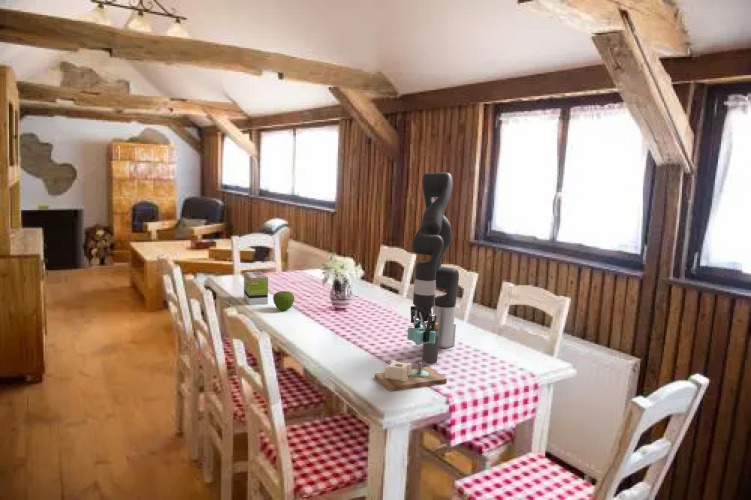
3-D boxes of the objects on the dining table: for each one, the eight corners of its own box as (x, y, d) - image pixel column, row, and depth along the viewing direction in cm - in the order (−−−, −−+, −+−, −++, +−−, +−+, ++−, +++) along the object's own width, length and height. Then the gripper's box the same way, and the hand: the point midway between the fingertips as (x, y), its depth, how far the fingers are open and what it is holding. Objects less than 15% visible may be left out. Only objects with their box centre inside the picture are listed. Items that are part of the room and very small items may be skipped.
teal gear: (424, 336, 189) (425, 326, 188) (436, 343, 182) (437, 332, 181) (405, 338, 185) (406, 327, 185) (416, 345, 179) (417, 334, 178)
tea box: (243, 298, 283) (243, 271, 281) (261, 297, 288) (262, 271, 285) (248, 305, 270) (249, 277, 268) (268, 304, 274) (268, 276, 272)
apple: (292, 313, 259) (292, 293, 258) (270, 312, 259) (271, 292, 258) (295, 307, 270) (296, 288, 268) (275, 306, 270) (275, 287, 269)
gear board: (428, 370, 193) (429, 356, 192) (446, 382, 182) (447, 367, 182) (374, 377, 184) (375, 362, 183) (390, 391, 173) (391, 375, 172)
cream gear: (390, 370, 187) (391, 359, 186) (411, 374, 184) (412, 363, 184) (383, 378, 179) (384, 366, 179) (405, 382, 177) (406, 370, 176)
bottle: (436, 358, 207) (438, 321, 205) (438, 363, 201) (441, 325, 199) (421, 357, 207) (423, 320, 204) (423, 362, 201) (425, 324, 199)
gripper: (445, 296, 176) (441, 344, 179) (423, 287, 189) (420, 332, 192) (425, 297, 173) (422, 346, 176) (405, 287, 186) (402, 334, 188)
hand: (421, 339), depth 184 cm, fingers closed on teal gear, 5 cm apart
